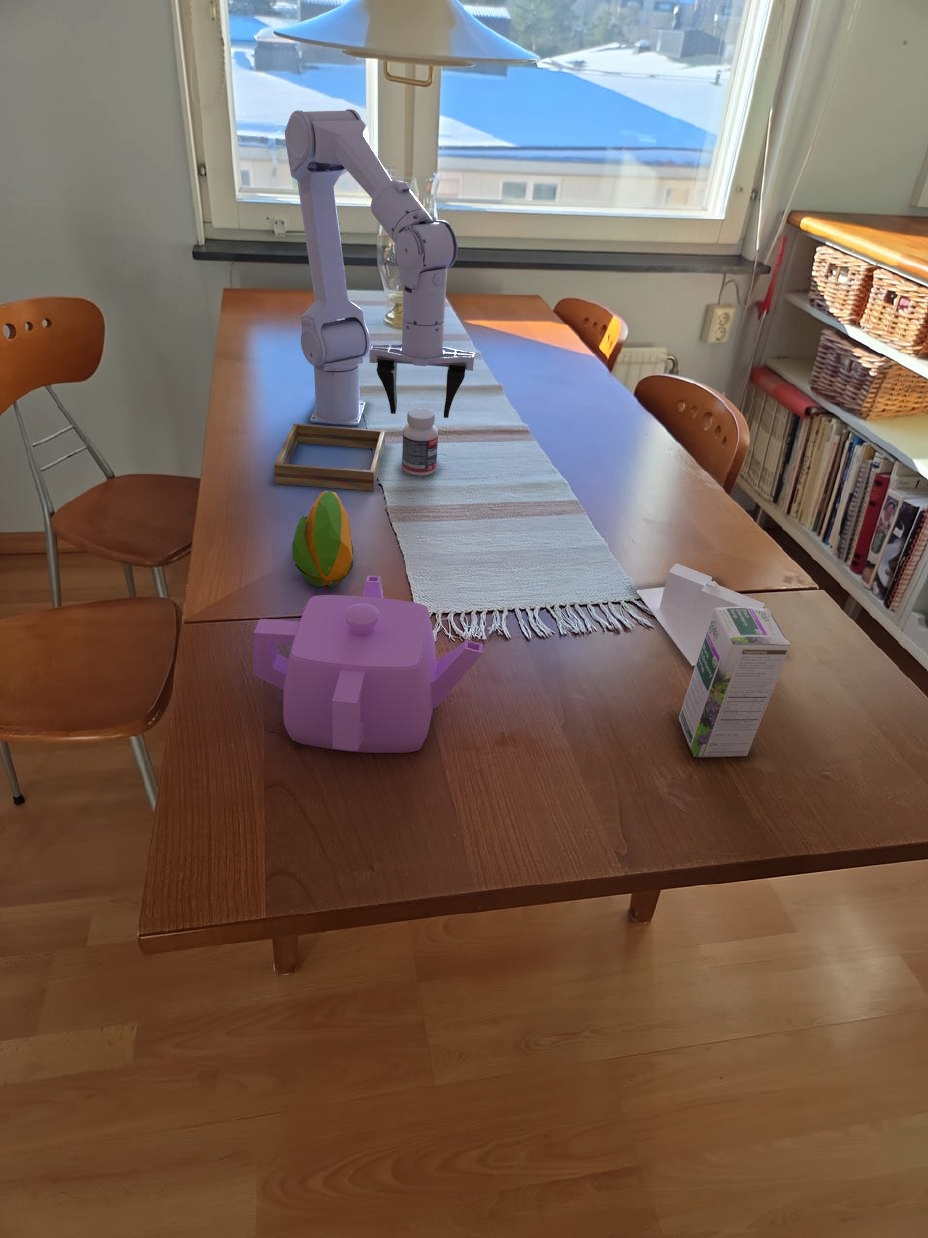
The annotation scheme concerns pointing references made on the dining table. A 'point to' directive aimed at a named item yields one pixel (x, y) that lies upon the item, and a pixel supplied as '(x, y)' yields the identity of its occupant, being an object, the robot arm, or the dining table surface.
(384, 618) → the teakettle
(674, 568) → the napkin holder
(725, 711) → the syrup box
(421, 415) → the pill bottle
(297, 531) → the corn
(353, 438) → the picture frame
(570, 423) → the dining table surface
